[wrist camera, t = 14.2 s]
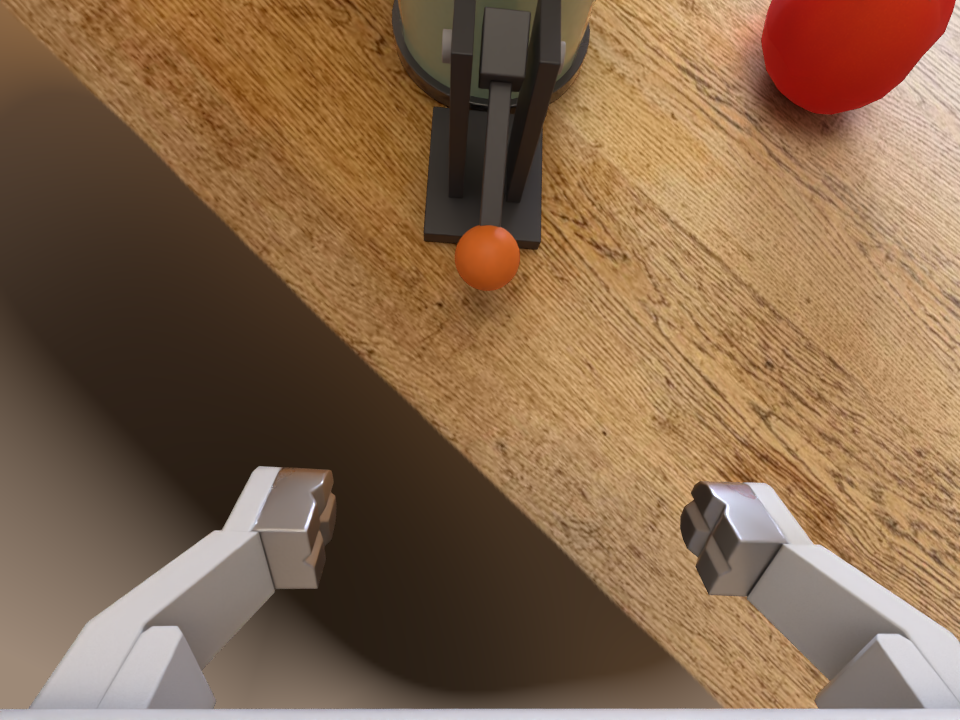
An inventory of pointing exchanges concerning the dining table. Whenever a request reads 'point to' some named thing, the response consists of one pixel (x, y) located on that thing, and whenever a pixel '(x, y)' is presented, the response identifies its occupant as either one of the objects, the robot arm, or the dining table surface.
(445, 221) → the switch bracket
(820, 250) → the dining table surface
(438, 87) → the green canister
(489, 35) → the switch
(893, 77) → the tomato
